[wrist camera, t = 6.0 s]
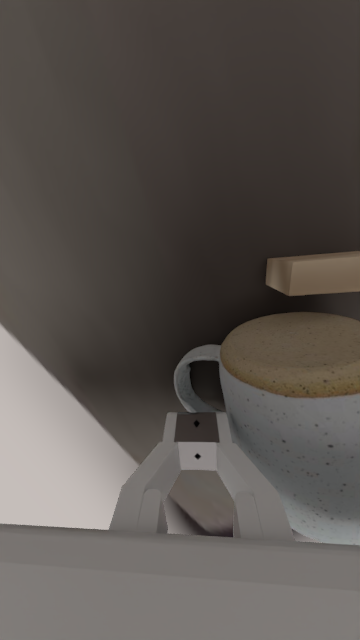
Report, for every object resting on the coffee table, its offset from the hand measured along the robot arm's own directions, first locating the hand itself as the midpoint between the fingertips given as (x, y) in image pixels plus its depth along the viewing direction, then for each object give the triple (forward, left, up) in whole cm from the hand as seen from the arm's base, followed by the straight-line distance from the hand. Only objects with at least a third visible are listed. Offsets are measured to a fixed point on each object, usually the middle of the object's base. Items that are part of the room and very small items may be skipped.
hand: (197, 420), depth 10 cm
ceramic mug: (0, +4, -5) cm, 6 cm away
